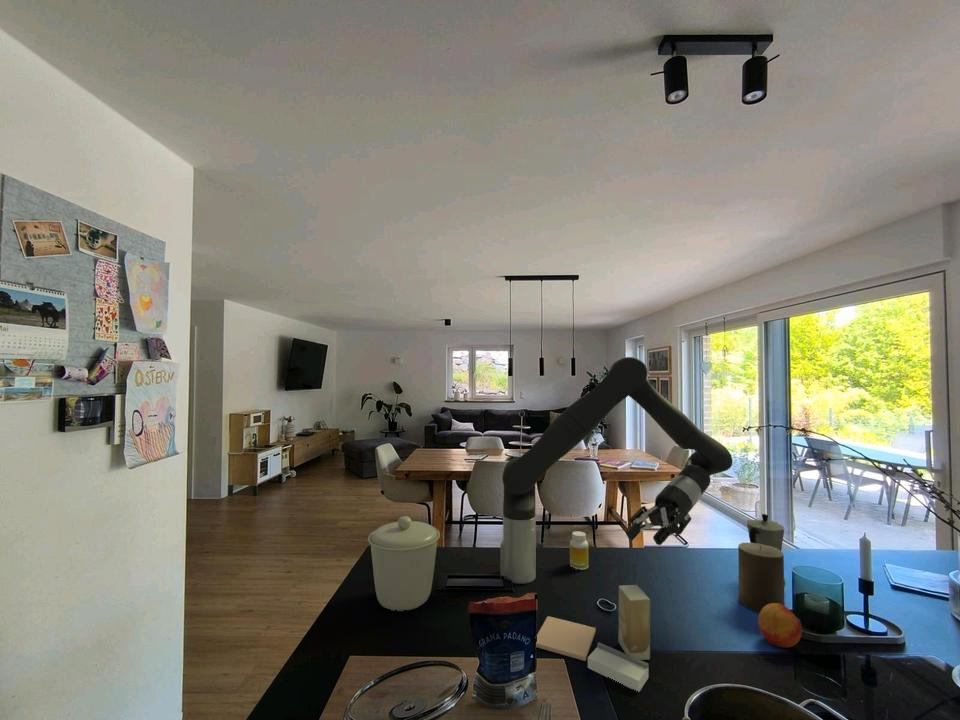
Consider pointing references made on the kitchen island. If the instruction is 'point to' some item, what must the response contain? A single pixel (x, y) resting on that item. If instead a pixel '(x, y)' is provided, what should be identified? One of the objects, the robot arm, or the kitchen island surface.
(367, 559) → the kitchen island surface
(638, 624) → the skincare box
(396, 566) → the canister
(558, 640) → the coaster
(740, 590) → the pillar candle
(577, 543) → the supplement bottle
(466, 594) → the kitchen island surface
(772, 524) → the coffeepot
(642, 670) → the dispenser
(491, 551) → the kitchen island surface
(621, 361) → the robot arm
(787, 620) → the fruit
